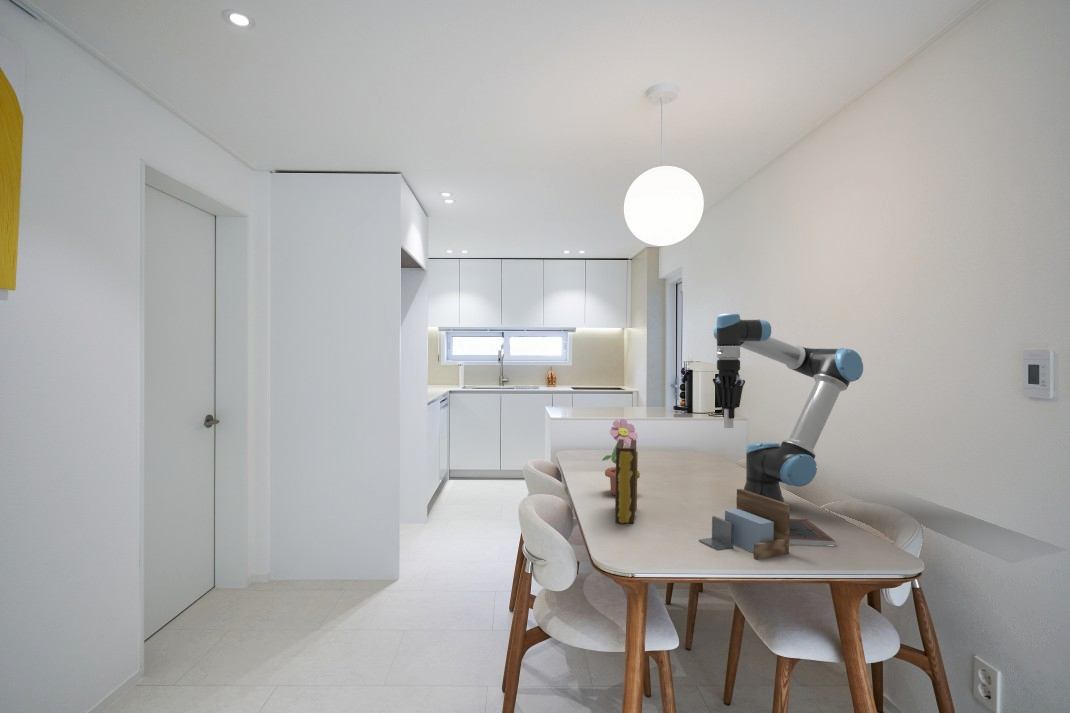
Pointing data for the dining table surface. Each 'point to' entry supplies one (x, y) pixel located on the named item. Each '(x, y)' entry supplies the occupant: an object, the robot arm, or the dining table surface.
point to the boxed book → (749, 528)
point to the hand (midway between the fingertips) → (728, 427)
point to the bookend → (720, 534)
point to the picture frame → (807, 534)
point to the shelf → (769, 511)
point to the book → (626, 482)
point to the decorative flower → (620, 432)
